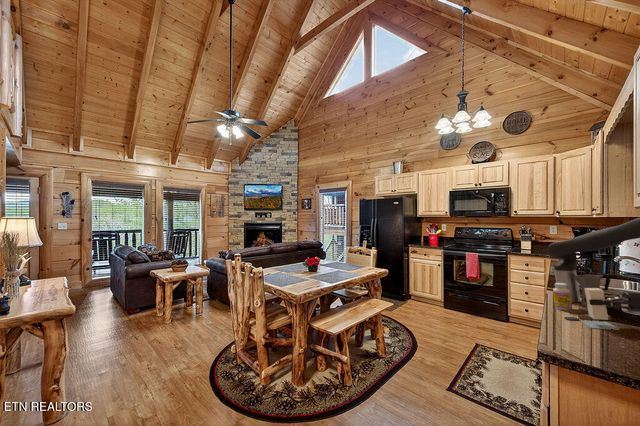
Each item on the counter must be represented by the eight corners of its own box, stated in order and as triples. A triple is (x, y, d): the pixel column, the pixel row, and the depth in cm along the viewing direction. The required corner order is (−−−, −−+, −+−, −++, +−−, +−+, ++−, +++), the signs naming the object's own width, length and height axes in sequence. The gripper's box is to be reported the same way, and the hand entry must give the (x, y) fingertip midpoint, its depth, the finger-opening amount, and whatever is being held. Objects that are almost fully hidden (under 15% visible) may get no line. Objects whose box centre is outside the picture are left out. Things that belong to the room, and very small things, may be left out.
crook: (579, 311, 135) (579, 308, 135) (574, 308, 140) (574, 305, 140) (601, 312, 132) (600, 309, 132) (595, 309, 137) (594, 306, 137)
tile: (580, 321, 122) (580, 320, 122) (607, 322, 118) (607, 321, 118) (590, 328, 114) (589, 327, 114) (619, 329, 110) (619, 328, 110)
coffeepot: (581, 307, 141) (576, 272, 143) (572, 302, 150) (567, 269, 151) (620, 307, 136) (614, 271, 137) (608, 303, 145) (603, 268, 146)
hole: (562, 317, 129) (562, 316, 129) (576, 317, 127) (576, 317, 127) (567, 320, 124) (567, 319, 124) (581, 321, 122) (581, 320, 122)
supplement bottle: (557, 310, 139) (553, 284, 140) (553, 306, 145) (550, 282, 146) (574, 311, 136) (570, 285, 137) (570, 307, 142) (566, 282, 143)
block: (589, 316, 119) (584, 288, 120) (602, 316, 117) (597, 288, 118) (594, 319, 115) (589, 290, 116) (608, 319, 113) (603, 290, 114)
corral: (569, 312, 135) (569, 308, 135) (598, 313, 131) (598, 309, 131) (579, 318, 125) (578, 315, 125) (611, 320, 121) (611, 316, 121)
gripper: (629, 288, 118) (578, 288, 125) (652, 296, 105) (593, 295, 112) (632, 306, 117) (581, 305, 124) (656, 316, 104) (596, 314, 111)
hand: (587, 300), depth 118 cm, fingers closed on block, 4 cm apart
